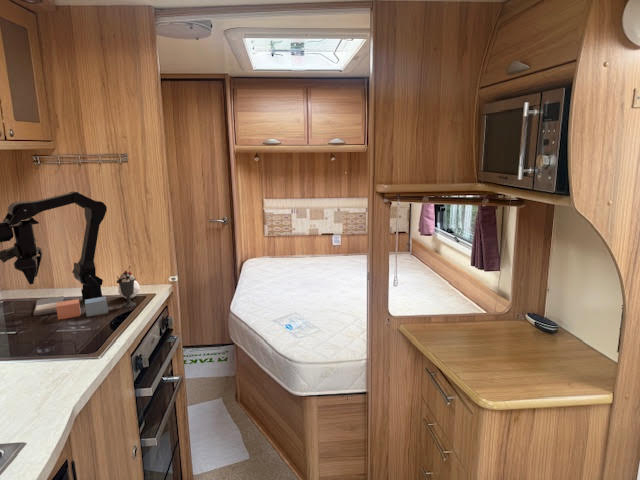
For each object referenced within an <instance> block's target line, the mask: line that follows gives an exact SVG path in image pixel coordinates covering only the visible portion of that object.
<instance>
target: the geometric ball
mask: <svg viewBox="0 0 640 480" xmlns="http://www.w3.org/2000/svg"><path fill="white" fill-rule="evenodd" d="M117 289H118V294H119V295H120V296H121V297H122V298H124V299H127V297H125V296H124V295H123V294H122V292H121V289H120V285H119V284H118V288H117ZM139 292H140V284H139V283H138V281H137V280H135V281H134V292H133V294H132V295H131V296H130V299H133V298H135V297H136V296H137V295H138V294H139Z"/></svg>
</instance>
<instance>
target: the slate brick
mask: <svg viewBox="0 0 640 480" xmlns="http://www.w3.org/2000/svg"><path fill="white" fill-rule="evenodd" d="M84 306H85V312H86V317H92V316H99V315H104V314H109V308H108V300H107V296H102V297H99V298H93V299H87V300H85V303H84Z"/></svg>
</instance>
